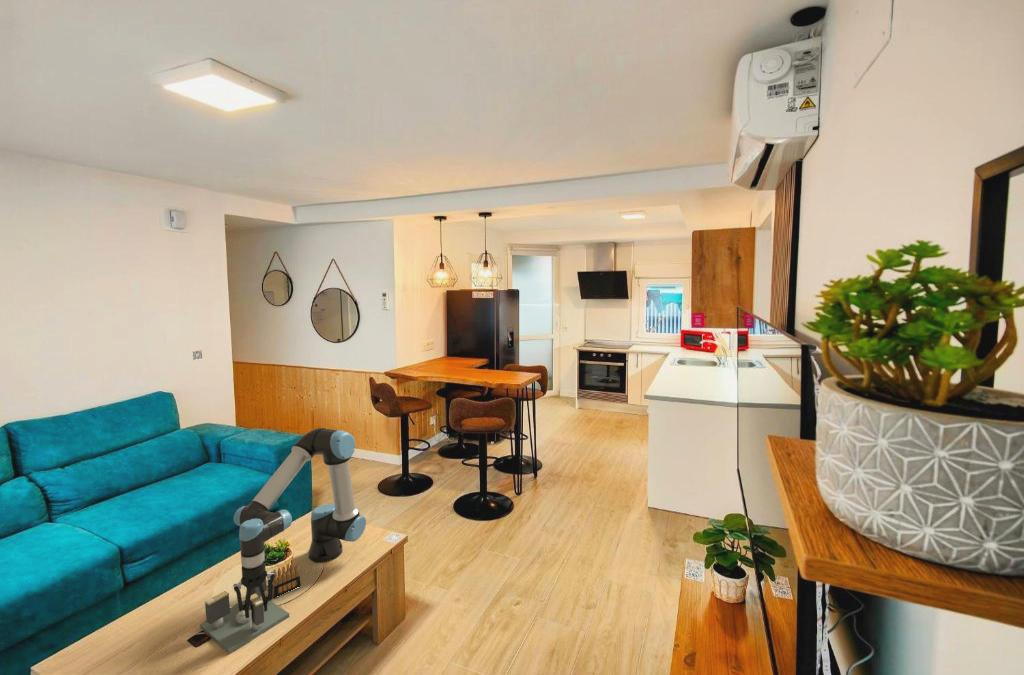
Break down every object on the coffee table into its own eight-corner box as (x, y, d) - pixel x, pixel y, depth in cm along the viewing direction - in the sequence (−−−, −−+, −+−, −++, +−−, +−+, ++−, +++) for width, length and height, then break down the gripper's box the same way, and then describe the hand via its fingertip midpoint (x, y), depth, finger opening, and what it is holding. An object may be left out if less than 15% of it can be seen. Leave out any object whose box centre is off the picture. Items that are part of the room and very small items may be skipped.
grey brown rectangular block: (257, 609, 181) (255, 581, 179) (249, 609, 181) (248, 581, 179) (267, 597, 187) (266, 570, 186) (260, 597, 188) (259, 570, 186)
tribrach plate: (259, 595, 191) (258, 586, 190) (289, 616, 179) (288, 607, 178) (200, 628, 173) (199, 617, 172) (229, 654, 161) (228, 643, 160)
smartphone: (185, 639, 167) (228, 614, 180) (186, 641, 167) (228, 615, 180) (196, 647, 163) (239, 621, 176) (196, 649, 163) (239, 622, 176)
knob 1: (226, 618, 176) (224, 590, 174) (230, 621, 174) (229, 592, 173) (206, 630, 170) (204, 600, 168) (211, 633, 168) (209, 603, 167)
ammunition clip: (274, 598, 189) (272, 571, 188) (272, 596, 191) (271, 569, 189) (301, 586, 197) (299, 560, 195) (299, 584, 198) (298, 558, 197)
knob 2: (249, 625, 172) (247, 596, 171) (257, 621, 174) (256, 592, 173) (256, 635, 168) (254, 605, 166) (265, 630, 170) (263, 600, 169)
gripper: (276, 550, 176) (279, 607, 179) (225, 565, 166) (229, 625, 169) (280, 559, 170) (283, 618, 173) (228, 576, 160) (232, 638, 163)
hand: (256, 621), depth 171 cm, fingers closed on knob 2, 3 cm apart
